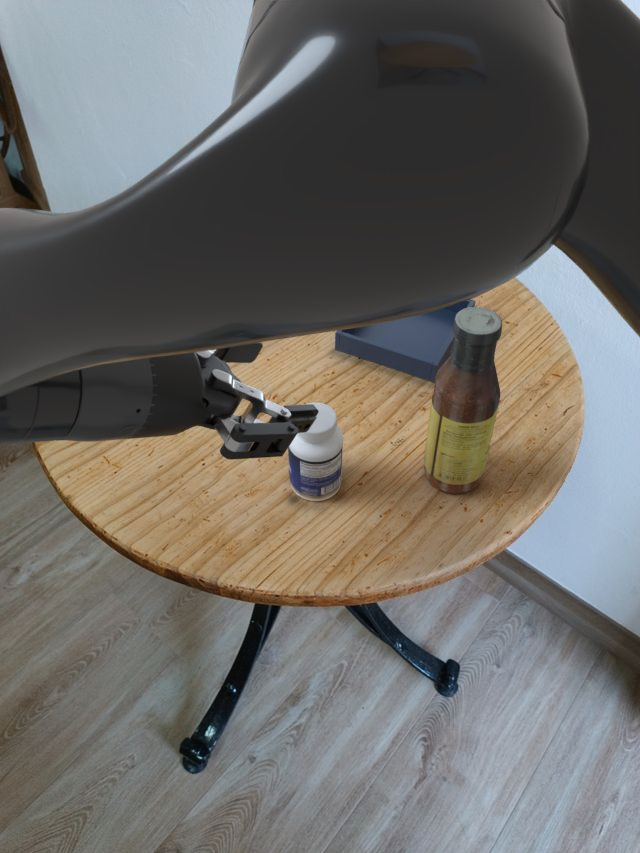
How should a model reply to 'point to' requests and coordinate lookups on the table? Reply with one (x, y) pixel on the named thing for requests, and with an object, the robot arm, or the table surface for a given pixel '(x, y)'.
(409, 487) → the table surface
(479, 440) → the sauce bottle
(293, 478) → the pill bottle
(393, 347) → the blue tray
